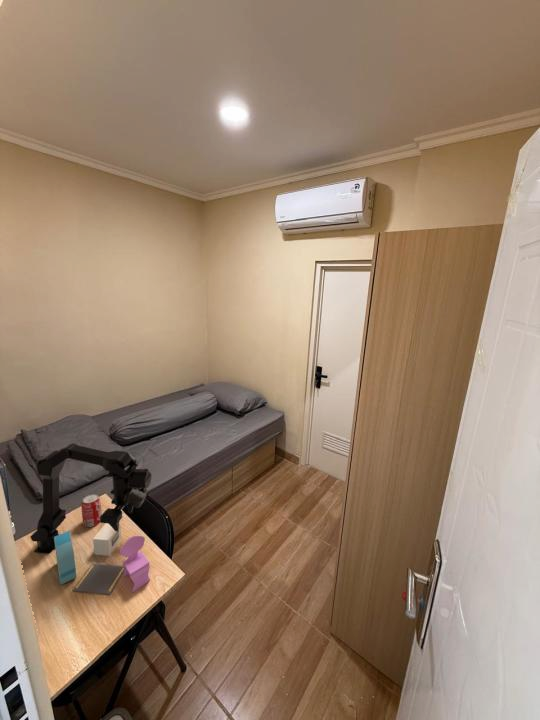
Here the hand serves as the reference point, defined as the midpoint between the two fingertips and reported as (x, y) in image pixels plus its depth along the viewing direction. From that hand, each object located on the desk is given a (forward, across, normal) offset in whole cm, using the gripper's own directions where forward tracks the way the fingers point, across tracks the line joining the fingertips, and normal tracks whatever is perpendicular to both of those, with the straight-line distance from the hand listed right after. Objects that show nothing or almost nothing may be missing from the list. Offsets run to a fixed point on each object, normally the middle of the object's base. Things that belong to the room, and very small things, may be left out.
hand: (123, 521), depth 110 cm
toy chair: (+12, -12, -11) cm, 20 cm away
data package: (+12, -11, +15) cm, 23 cm away
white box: (+12, 0, +7) cm, 14 cm away
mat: (+12, -13, +2) cm, 18 cm away
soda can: (+12, +11, +21) cm, 27 cm away
